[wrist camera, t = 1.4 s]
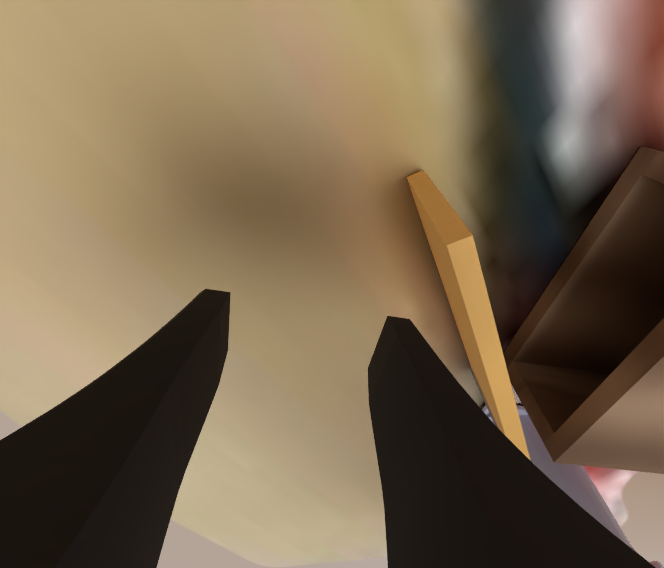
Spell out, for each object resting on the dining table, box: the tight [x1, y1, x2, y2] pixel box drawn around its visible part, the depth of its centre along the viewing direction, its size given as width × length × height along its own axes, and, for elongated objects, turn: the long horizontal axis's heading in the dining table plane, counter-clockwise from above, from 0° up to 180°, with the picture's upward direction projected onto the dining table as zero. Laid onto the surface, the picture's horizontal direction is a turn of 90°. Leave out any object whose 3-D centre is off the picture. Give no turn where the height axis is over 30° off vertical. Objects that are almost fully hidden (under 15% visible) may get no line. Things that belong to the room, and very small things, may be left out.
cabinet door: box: [407, 170, 533, 463], centre depth 17 cm, size 15×1×7 cm, turn 25°
